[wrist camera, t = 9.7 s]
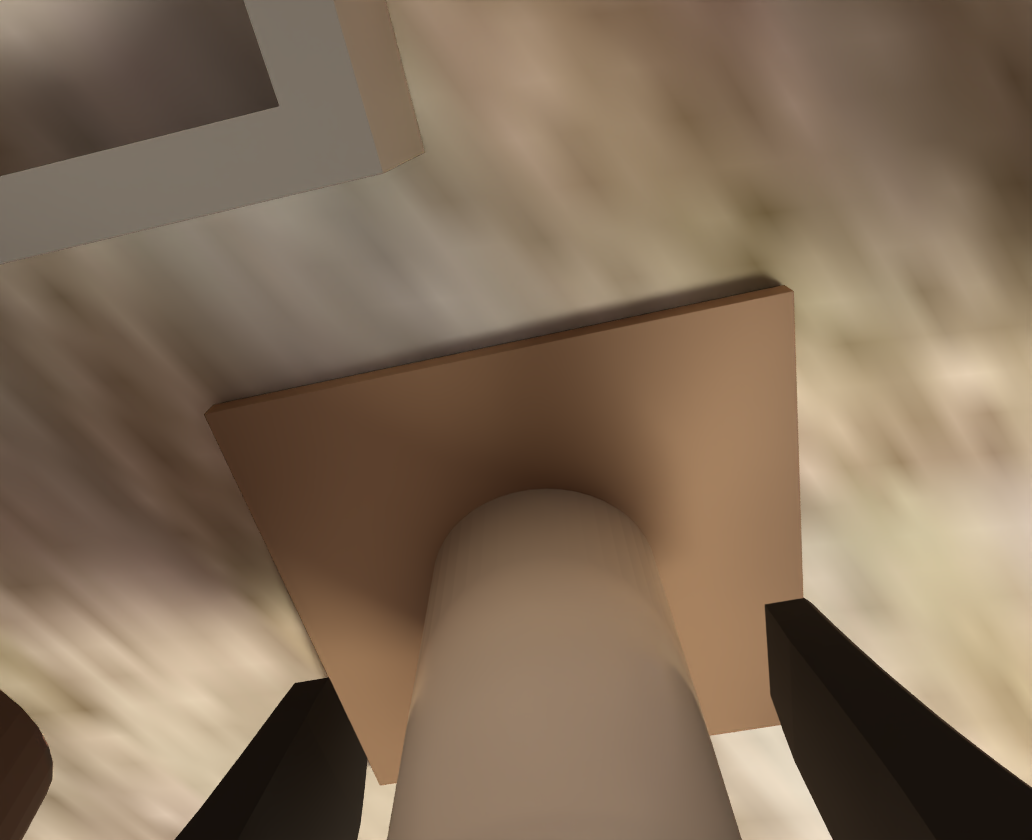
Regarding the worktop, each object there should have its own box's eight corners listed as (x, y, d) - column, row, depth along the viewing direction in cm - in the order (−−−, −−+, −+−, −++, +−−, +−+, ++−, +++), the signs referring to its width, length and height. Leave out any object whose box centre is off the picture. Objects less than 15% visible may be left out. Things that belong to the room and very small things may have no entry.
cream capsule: (632, 464, 12) (736, 777, 6) (673, 641, 13) (781, 1000, 8) (401, 519, 12) (310, 853, 7) (471, 682, 14) (444, 1047, 9)
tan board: (783, 285, 11) (793, 291, 10) (799, 706, 15) (807, 720, 14) (213, 404, 11) (203, 414, 11) (382, 769, 16) (379, 785, 15)
